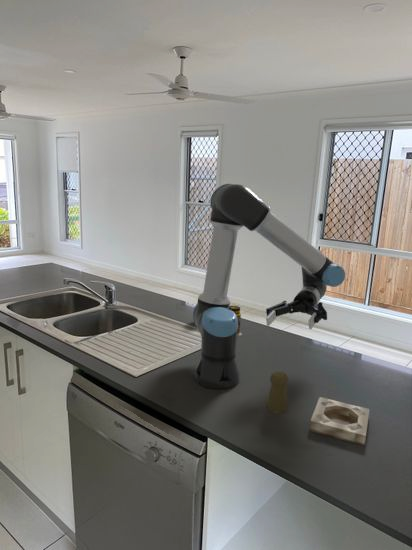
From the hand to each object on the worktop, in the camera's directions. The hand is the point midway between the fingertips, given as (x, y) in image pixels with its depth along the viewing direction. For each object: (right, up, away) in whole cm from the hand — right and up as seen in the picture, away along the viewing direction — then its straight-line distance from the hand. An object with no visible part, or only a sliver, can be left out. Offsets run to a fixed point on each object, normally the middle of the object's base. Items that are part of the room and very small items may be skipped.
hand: (288, 323), depth 124 cm
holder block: (+12, -27, -13) cm, 32 cm away
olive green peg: (-4, -25, -5) cm, 26 cm away
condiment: (-15, -11, +53) cm, 56 cm away
